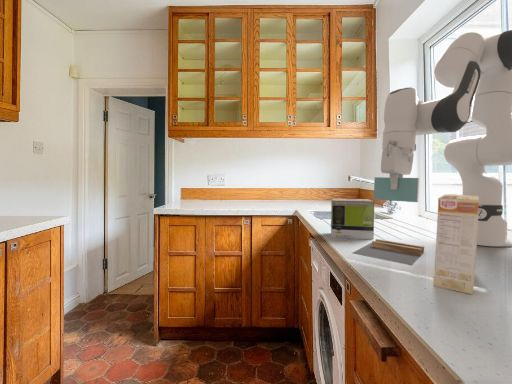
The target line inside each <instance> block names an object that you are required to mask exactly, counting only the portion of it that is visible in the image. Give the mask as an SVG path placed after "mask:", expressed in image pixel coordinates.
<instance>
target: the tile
mask: <svg viewBox="0 0 512 384" xmlns="http://www.w3.org/2000/svg"><path fill="white" fill-rule="evenodd" d="M373 184H374V186H373V187H374V188H373V201H374V200H376V201H377V200H379V201H390V202H391V201H394V202H407V203H418V202H419V194H420V193H419V189H420V177H403V178H398V189H391V188H390V187H391V183H390V178H389V177H385V176H384V177H381V176H380V177H375V176H374V183H373Z"/></svg>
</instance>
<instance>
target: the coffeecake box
mask: <svg viewBox="0 0 512 384" xmlns="http://www.w3.org/2000/svg"><path fill="white" fill-rule="evenodd" d="M437 202H438V203H437V218H436V219H437V220H436V240H435V241H436V243H435V257H434V258H435V259H434V260H435V261H434V262H435V263H434V277H433V280H434V281H433V286H434V287H436V286H437V287H436V288H440V287H441V289H446V290H450V291H456V292H459V293H464V294H467V295H473V293H474V286H475V278H476V277H475V276H476V262H477V247H478V245H477V230H478V206H479V197H478V196H469V195H463V194H456V193H455V194H452V193H451V194H443V195H441V196H440V197H438V198H437Z"/></svg>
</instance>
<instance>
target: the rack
mask: <svg viewBox="0 0 512 384" xmlns="http://www.w3.org/2000/svg"><path fill="white" fill-rule="evenodd" d="M371 243H372V247H375V248H381V249H386V250H392V251H398V252H403V253H409V254H414V255H420V257H421V256H422V255H423V254H424V253H425V246H422V245H416V244H410V243H405V242H397V241H391V240H385V239H379V238H378V239H377V238H376V239H375V240H372V241H371ZM422 253H423V254H422Z"/></svg>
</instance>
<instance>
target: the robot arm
mask: <svg viewBox="0 0 512 384" xmlns="http://www.w3.org/2000/svg"><path fill="white" fill-rule="evenodd" d="M433 77H434V79H435V81H436V83H438V84H439V85H440V86H441V87H444V88H446V89H452V92H451V93H450V94H448V95H446V96H443V97H442V98H438V99H434V100H430V101H426V102H425V101H424V102H423V101H422V100H421V99H419V97H418V96H417V95H418V94H417V93H418V92H417V89H416V87H409V86H408V87H404V88H399V89H396V90H393V91H391V92H390V93H388V95H386V99H385V102H384V104H385V105H384V110H383V122H384V129H383V132H382V143H381V145H382V146H381V149H382V152H381V159H380V162H381V163H380V173H382V174H387V175H388V174H389V177H388V178H390V183H391V187H390V188H391V189H398V178H404V175H405V176H407V175H411V173H412V168H413V162H414V156H415V155H414V154H415V153H414V152H417V144H416V143H417V142H416V139H417V136H422V135H425V136H426V135H431V134H433V135H434V134H439V133H442V134H443V133H446V134H447V133H455V132H458V131H459V130H461V129H462V128H463V127H464V126H465V125H466V124H467V123H468V121H469V119H470V120H471V121H472V122H473V123H474V124H475V125H476V126H479V127H482V128H485V130H486V131H485V134H484V135H473V136H466V137H465V136H464V137H459V138H456V139H453V140H450V141H449V142H448V143H447V144H446V145H445V148H444V149H443V150H444V152H443V155H444V158H445V161H446V162H447V163H448V164H449V165H451V166H452V167H453V168H454V169H455V170H456V171H457V173H458V174H459V177H460V179H461V183H462V195H469V196H478V197H479V206H478V230H477V246H482V247H484V246H485V247H510V248H511V247H512V241H510V240H508V239H507V238H508V221H506V220H505V219H504V218H503V217H502V216H503V211H504V205H503V204H502V197H503V188H504V187H503V183H502V182H501V180H499V179H498V178H496V177H494V176H492V175H489V174H488V173H487V172H486V168H485V166H488V167H489V166H490V167H491V166H510V165H512V29H510V30H505V31H502V33H499V34H495V35H493V36H489V37H487V38H484V37H483V35H481V33H478V32H475V31H474V32H473V31H472V32H466V33H465V32H464V33H463V34H461V35H460V36H458V37H457V38H456V39H454V40H453V41H452V42H451V43H450V44H449V46H448V47H446V49H445V50H444V51H443V52H442V54H441V56H440V57H439V58H438V60H437V62H436V63H435V65H434V67H433ZM471 106H472V107H471Z"/></svg>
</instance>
